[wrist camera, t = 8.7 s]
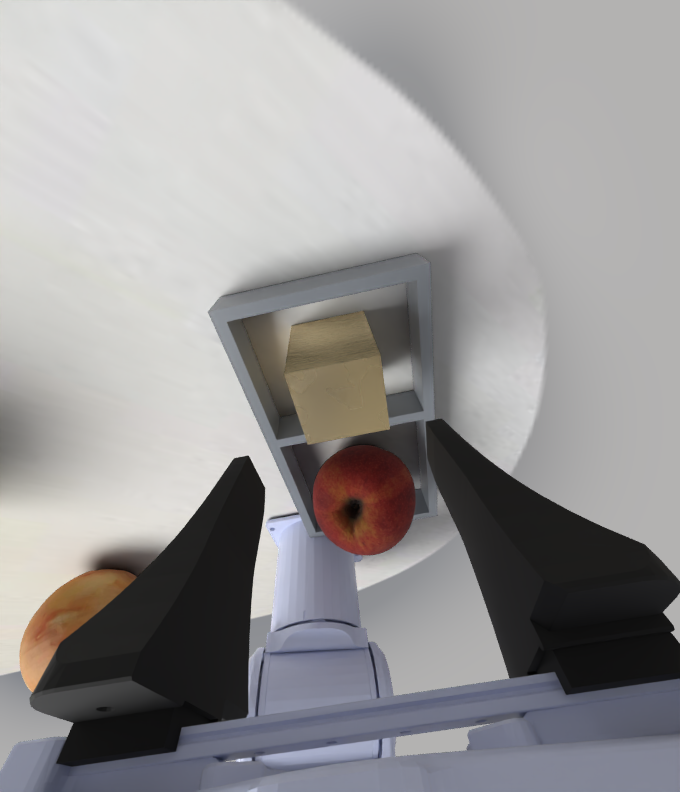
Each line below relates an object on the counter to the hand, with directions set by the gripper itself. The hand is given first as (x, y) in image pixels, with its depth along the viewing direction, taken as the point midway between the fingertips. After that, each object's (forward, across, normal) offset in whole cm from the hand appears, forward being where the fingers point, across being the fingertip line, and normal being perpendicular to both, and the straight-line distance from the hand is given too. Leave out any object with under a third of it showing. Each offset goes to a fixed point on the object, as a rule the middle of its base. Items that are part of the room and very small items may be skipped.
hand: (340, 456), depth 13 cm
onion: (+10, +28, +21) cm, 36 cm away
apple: (+10, 0, +10) cm, 14 cm away
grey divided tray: (+9, 0, +6) cm, 11 cm away
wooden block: (+10, 0, 0) cm, 10 cm away
